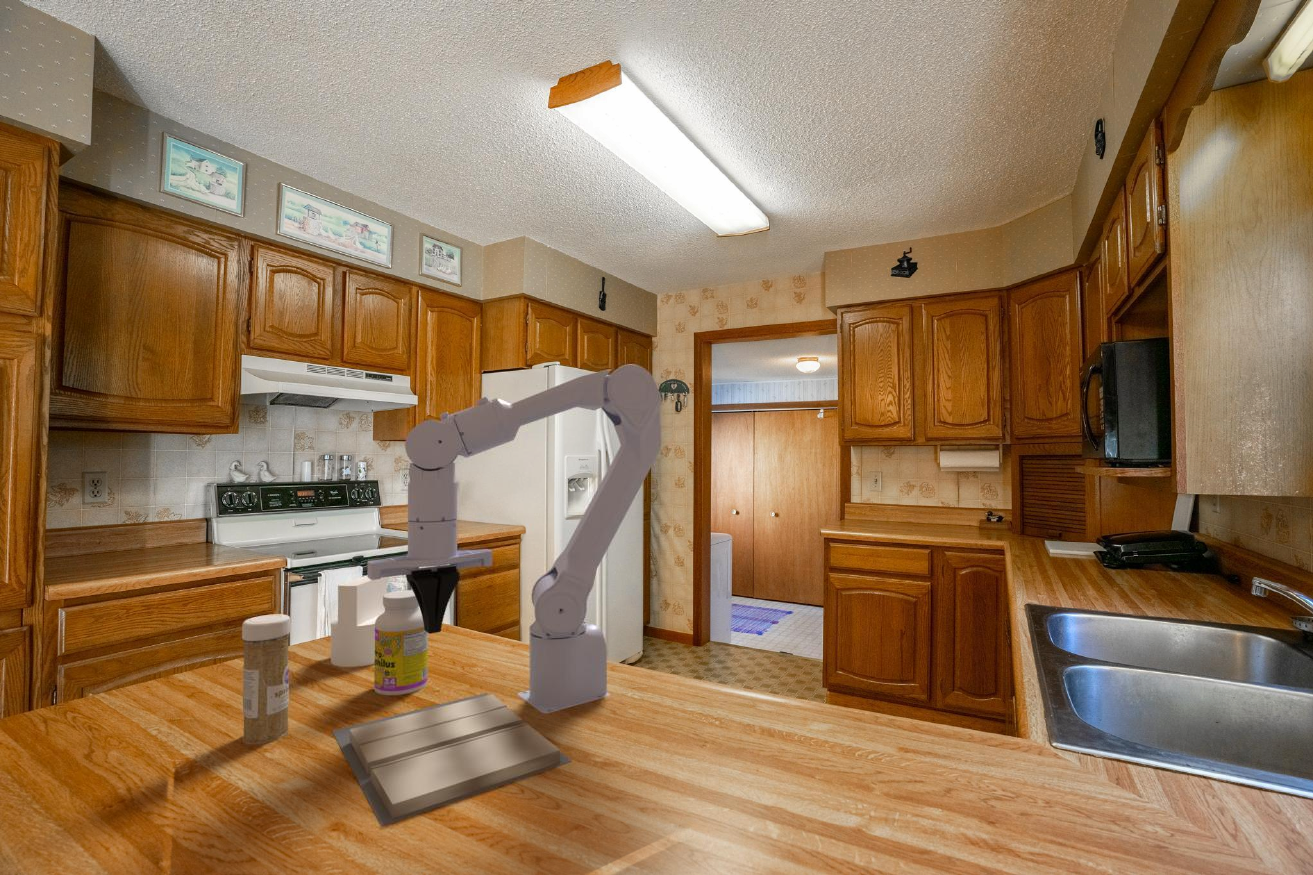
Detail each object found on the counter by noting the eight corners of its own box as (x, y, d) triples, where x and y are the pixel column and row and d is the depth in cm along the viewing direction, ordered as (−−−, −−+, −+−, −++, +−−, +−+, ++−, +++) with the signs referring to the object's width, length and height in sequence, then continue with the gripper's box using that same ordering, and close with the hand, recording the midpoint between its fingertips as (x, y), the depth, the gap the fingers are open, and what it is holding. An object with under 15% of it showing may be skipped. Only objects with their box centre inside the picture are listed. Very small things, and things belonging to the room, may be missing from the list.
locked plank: (525, 733, 69) (525, 721, 69) (560, 761, 63) (560, 749, 63) (370, 779, 60) (370, 766, 60) (392, 818, 53) (392, 803, 53)
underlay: (486, 697, 81) (486, 692, 81) (571, 766, 63) (571, 760, 63) (331, 736, 70) (331, 730, 70) (381, 833, 52) (381, 825, 52)
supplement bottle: (365, 691, 84) (365, 594, 84) (412, 677, 89) (412, 586, 89) (389, 704, 79) (389, 602, 80) (437, 689, 84) (437, 592, 85)
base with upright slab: (352, 647, 103) (352, 573, 103) (405, 648, 102) (405, 574, 102) (317, 666, 94) (318, 585, 94) (374, 667, 93) (374, 586, 93)
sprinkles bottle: (290, 742, 69) (291, 619, 69) (241, 753, 66) (242, 625, 67) (288, 727, 73) (289, 610, 73) (241, 737, 70) (242, 616, 71)
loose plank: (492, 703, 77) (492, 693, 77) (521, 729, 70) (521, 718, 70) (349, 740, 68) (349, 728, 68) (367, 774, 61) (368, 761, 61)
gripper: (477, 513, 85) (477, 614, 84) (361, 521, 76) (361, 634, 76) (498, 517, 79) (498, 626, 79) (375, 526, 70) (375, 648, 70)
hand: (432, 631), depth 77 cm, fingers closed
